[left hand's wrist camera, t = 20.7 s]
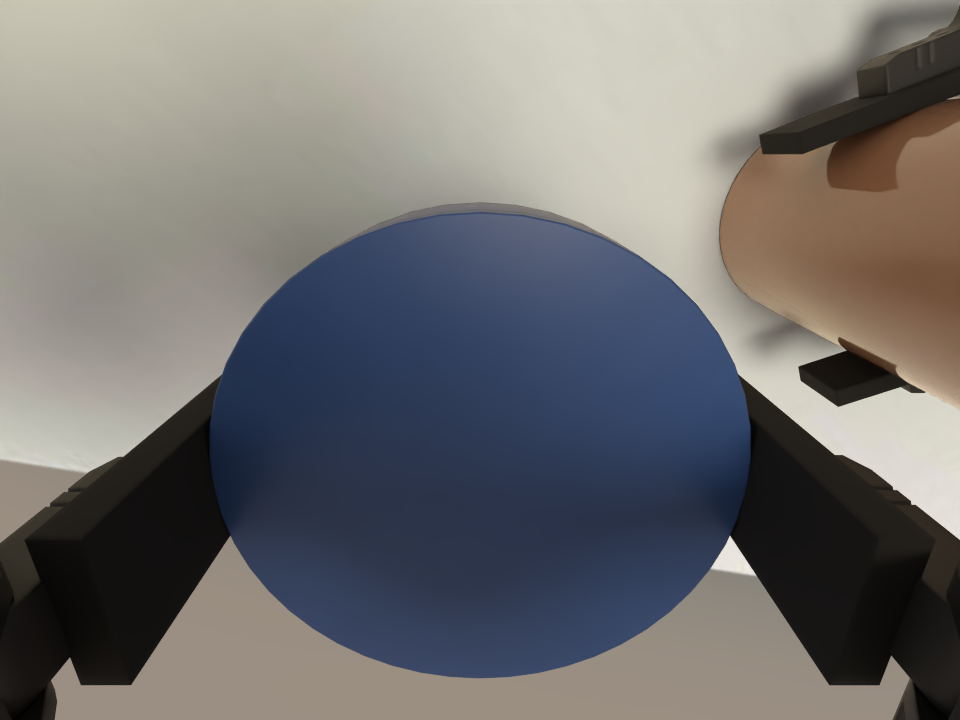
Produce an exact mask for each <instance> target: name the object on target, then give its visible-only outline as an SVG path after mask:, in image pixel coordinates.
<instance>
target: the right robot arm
mask: <svg viewBox="0 0 960 720" xmlns="http://www.w3.org/2000/svg"><path fill="white" fill-rule="evenodd" d="M857 79H858V89H859V96H858V97H856V98H853V99H851V100H848V101H846V102H843V103H840V104H838V105H835V106H833V107H830V108H828V109H825V110H822V111H820V112H817V113H815V114H812V115H809V116H807V117H804V118H802V119H799V120H797V121H794V122H791V123H789V124H786V125H784V126H781V127H779V128H776V129H773V130H771V131H768V132H766V133H763V134H761V135H759V137H760V143H761V149H762V154H804V153H807V152H810V151H812V150H815V149H818V148H820V147H823V146H826V145H828V144H831V143H833V142H836V141H839V140H841V139H844V138H847V137H849V136H852V135H855V134H857V133H860V132H862V131H865V130H868V129H870V128H873V127H876V126H878V125H881V124H883V123H886V122H889V121H891V120H894V119H897V118H899V117H902V116H905V115H907V114H910V113H912V112H915V111H918V110H920V109H923V108H926V107H928V106H931V105H934V104H936V103H939V102H941V101H944V100H947V99H949V98H952V97H955V96H957V95H960V7H959V10H958V12H957V15H956V17H955V18H954V20H953V22H952V23H951V24H950V25H949V26H948V27H947V28H943V29H939V30H937V31H935V32H933V33H932V34H930V35H929V36H928V37H927V38H925V39H923V40H920V41H918V42H915V43H913V44H910V45H907V46H905V47H902V48H900V49H897V50H895V51H892V52H890V53H888V54H885V55H882V56H880V57H877V58H875V59H872V60H870V61H869V62H868V63H866V64H865V65H864V66H863V67H862V68H861V69H859V70H858V71H857ZM798 368H799V373H800V379H801V381H802V382H803V383H805V384H806V385H808V386H809V387H811V388H812V389H814V390H815V391H816V392H818V393H819V394H821V395H822V396H824V397H825V398H826V399H828V400H829V401H831V402H832V403H834V404H835V405H836V406H838V407H839V406H842V405H845V404H849V403H852V402H855V401H858V400H861V399H864V398H868V397H871V396H874V395H877V394H880V393H883V392H886V391H890V390H893V389H896V388H899V387H902V388H903V389H905V390H907V391H909V392H911V393H925V391H923V390H921V389H919V388H917V387H916V386H914V385H912V384H910V383H908V382H906V381H904V380H902V379H900V378H899V377H897V376H895V375H893V374H891V373H889V372H887V371H885V370H883V369H882V368H880V367H878V366H876V365H874V364H872V363H870V362H868V361H866V360H865V359H863V358H861V357H859V356H857V355H855V354H853V353H851V352H849V351H848V350H847V351H844V352H841V353H838V354H835V355H832V356H829V357H826V358H823V359H820V360H817V361H814V362H811V363H808V364H805V365H802V366H799V367H798Z"/></svg>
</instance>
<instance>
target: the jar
mask: <svg viewBox="0 0 960 720" xmlns="http://www.w3.org/2000/svg"><path fill="white" fill-rule="evenodd" d="M720 245H721V252H722V256H723V261H724V263H725V266H726V268H727V271H728V273H729V275H730V276H731V278H732V280H733V281H734V283H735V284H736V285H737V286H738V287H739V289H740V290H741V291H742V292H743V293H745V294H746V295H747V296H748V297H749V298H751V299H752V300H754V301H755V302H757V303H759V304H761V305H763V306H764V307H766V308H768V309H770V310H772V311H774V312H776V313H778V314H780V315H781V316H783V317H785V318H787V319H789V320H791V321H793V322H795V323H797V324H798V325H800V326H802V327H804V328H806V329H808V330H810V331H812V332H814V333H815V334H817V335H819V336H821V337H823V338H825V339H827V340H829V341H831V342H832V343H834V344H836V345H838V346H840V347H842V348H844V349H846V350H848V351H849V352H851V353H853V354H855V355H857V356H859V357H861V358H863V359H865V360H866V361H868V362H870V363H872V364H874V365H876V366H878V367H880V368H882V369H883V370H885V371H887V372H889V373H891V374H893V375H895V376H897V377H899V378H900V379H902V380H904V381H906V382H908V383H910V384H912V385H914V386H916V387H917V388H919V389H921V390H923V391H925V392H927V393H929V394H931V395H933V396H934V397H936V398H938V399H940V400H942V401H944V402H946V403H948V404H950V405H951V406H953V407H955V408H957V409H959V410H960V97H952V98H949V99H947V100H944V101H941V102H939V103H936V104H934V105H931V106H928V107H926V108H923V109H920V110H918V111H915V112H912V113H910V114H907V115H905V116H902V117H899V118H897V119H894V120H891V121H889V122H886V123H883V124H881V125H878V126H876V127H873V128H870V129H868V130H865V131H862V132H860V133H857V134H855V135H852V136H849V137H847V138H844V139H841V140H839V141H836V142H833V143H831V144H828V145H826V146H823V147H820V148H818V149H815V150H812V151H810V152H807V153H804V154H762V149H761V147H760V148H759V149H758V150H757V151H756V152H755V153H754V154H753V155H752V156H751V158H750V159H749V160H748V161H747V162H746V164H745V165H744V167H743V168H742V169H741V171H740V172H739V174H738V176H737V177H736V179H735V181H734V183H733V184H732V187H731V189H730V191H729V193H728V196H727V198H726V202H725V205H724V208H723V212H722V218H721V223H720Z"/></svg>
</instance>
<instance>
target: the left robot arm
mask: <svg viewBox="0 0 960 720" xmlns="http://www.w3.org/2000/svg"><path fill="white" fill-rule="evenodd" d="M738 376H739V375H738ZM221 377H222V375H221V376H220V377H219V378H217V379H216V380H215V381H214V382H213V383H211V384H210V385H209V386H208V387H207V388H205V389H204V390H203V391H202V392H201V393H199V394H198V395H197V396H196V397H195V398H193V399H192V400H191V401H190V402H189V403H187V404H186V405H185V406H184V407H183V408H181V409H180V410H179V411H178V412H177V413H175V414H174V415H173V416H172V417H171V418H169V419H168V420H167V421H166V422H165V423H163V424H162V425H161V426H160V427H159V428H158V429H156V430H155V431H154V432H153V433H152V434H150V435H149V436H148V437H147V438H146V439H144V440H143V441H142V442H141V443H140V444H138V445H137V446H136V447H135V448H134V449H132V450H131V451H130V452H129V453H128V454H126V455H125V456H124V457H117V458H115V459H113V460H111V461H109V462H108V463H106V464H104V465H102V466H100V467H98V468H96V469H94V470H92V471H90V472H89V473H87V474H86V475H85V476H84V477H82V478H81V479H80V480H79V481H77V482H76V483H75V484H74V485H72V486H71V487H70V488H69V489H68V492H64V493H62V494H61V495H60V496H59V497H57V498H56V499H55V500H54V501H52V502H51V503H50V507H45V508H44V509H42V510H41V511H40V512H39V513H37V514H36V515H35V516H34V517H32V518H31V519H30V520H29V521H27V522H26V523H25V524H24V525H22V526H21V527H20V528H19V529H17V530H16V531H15V532H14V533H12V534H11V535H10V536H9V537H7V538H6V539H5V540H4V541H2V542H1V543H0V720H54V719H55V712H56V705H57V699H56V693H55V689H54V687H53V684H52V682H51V679H52V678H53V677H54V676H55V675H56V673H57V672H58V671H59V670H60V669H61V667H62V666H63V665H64V664H65V663H66V661H67V660H68V659H69V658H71V661H72V663H73V666H74V668H75V671H76V673H77V676H78V679H79V681H80V684H81V685H131V684H132V683H133V681H134V680H135V678H136V677H137V675H138V674H139V672H140V671H141V669H142V668H143V666H144V665H145V663H146V662H147V660H148V659H149V657H150V656H151V654H152V653H153V651H154V650H155V648H156V647H157V645H158V644H159V642H160V641H161V639H162V638H163V636H164V635H165V633H166V632H167V630H168V628H169V627H170V626H171V624H172V623H173V621H174V619H175V618H176V616H177V615H178V613H179V612H180V610H181V609H182V607H183V606H184V604H185V603H186V601H187V600H188V598H189V597H190V595H191V594H192V592H193V591H194V589H195V588H196V586H197V585H198V583H199V582H200V580H201V579H202V577H203V576H204V574H205V573H206V571H207V570H208V568H209V567H210V565H211V564H212V562H213V561H214V559H215V558H216V556H217V555H218V553H219V552H220V550H221V549H222V547H223V545H224V544H225V543H226V541H227V540H228V538H229V537H230V533H229V531H228V529H227V526H226V524H225V522H224V520H223V518H222V515H221V511H220V508H219V505H218V501H217V497H216V493H215V488H214V483H213V478H212V473H211V466H210V458H209V449H210V423H211V417H212V411H213V405H214V400H215V394H216V391H217V388H218V385H219V382H220V379H221ZM739 379H740V382H741V385H742V388H743V391H744V394H745V398H746V403H747V409H748V415H749V421H750V427H751V462H750V469H749V476H748V482H747V487H746V491H745V495H744V499H743V503H742V506H741V509H740V513H739V516H738V519H737V521H736V523H735V525H734V527H733V530H732V532H731V534H730V536H731V538H732V539H733V541H734V542H735V544H736V545H737V547H738V548H739V550H740V551H741V553H742V554H743V556H744V557H745V559H746V560H747V562H748V563H749V565H750V566H751V568H752V569H753V571H754V572H755V574H756V575H757V577H758V578H759V580H760V581H761V583H762V584H763V586H764V587H765V589H766V590H767V592H768V593H769V595H770V596H771V598H772V599H773V601H774V602H775V604H776V605H777V607H778V608H779V610H780V611H781V613H782V614H783V616H784V617H785V619H786V620H787V622H788V623H789V625H790V626H791V628H792V630H793V631H794V632H795V634H796V636H797V637H798V638H799V640H800V642H801V643H802V645H803V646H804V648H805V649H806V651H807V652H808V654H809V655H810V656H811V658H812V660H813V661H814V663H815V664H816V666H817V667H818V669H819V670H820V672H821V673H822V675H823V676H824V678H825V679H826V681H827V682H828V684H829V685H880V682H881V680H882V677H883V675H884V672H885V669H886V667H887V664H888V662H889V659H890V657H891V655H892V657H893V658H894V659H895V660H896V661H897V663H898V664H899V665H900V666H901V668H902V669H903V670H904V671H905V672H906V673H907V675H908V676H909V677H910V680H909V682H908V684H907V687H906V689H905V692H904V694H903V696H902V699H901V701H900V704H899V706H898V708H897V711H896V713H895V716H894V718H893V720H960V540H959V539H958V538H957V537H955V536H954V535H953V534H952V533H950V532H949V531H948V530H946V529H945V528H944V527H943V526H941V525H940V524H939V523H938V522H936V521H935V520H934V519H933V518H931V517H930V516H929V515H928V514H926V513H925V512H924V511H923V510H921V509H920V508H919V507H918V506H916V505H911V501H910V500H909V499H907V498H906V497H905V496H904V495H902V494H901V493H900V492H899V491H897V490H893V487H892V486H891V485H890V484H889V483H887V482H886V481H885V480H884V479H882V478H881V477H880V476H879V475H877V474H876V473H875V472H873V471H872V470H871V469H869V468H867V467H865V466H863V465H861V464H859V463H857V462H855V461H853V460H851V459H849V458H847V457H845V456H843V455H834V454H833V453H832V452H830V451H829V450H828V449H827V448H826V447H824V446H823V445H822V444H821V443H820V442H818V441H817V440H816V439H815V438H814V437H812V436H811V435H810V434H809V433H808V432H806V431H805V430H804V429H803V428H802V427H800V426H799V425H798V424H797V423H796V422H794V421H793V420H792V419H791V418H790V417H789V416H787V415H786V414H785V413H784V412H783V411H781V410H780V409H779V408H778V407H777V406H775V405H774V404H773V403H772V402H771V401H769V400H768V399H767V398H766V397H765V396H763V395H762V394H761V393H760V392H759V391H757V390H756V389H755V388H754V387H753V386H751V385H750V384H749V383H748V382H747V381H745V380H744V379H743V378H742V377H741V376H739Z"/></svg>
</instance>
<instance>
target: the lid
mask: <svg viewBox="0 0 960 720" xmlns="http://www.w3.org/2000/svg"><path fill="white" fill-rule="evenodd" d="M209 458H210V466H211V473H212V478H213V483H214V488H215V493H216V497H217V501H218V505H219V508H220V511H221V515H222V518H223V520H224V522H225V524H226V526H227V529H228V531H229V533H230V535H231V537H232V539H233V542H234V544H235V545H236V547H237V548H238V550H239V552H240V553H241V555H242V557H243V558H244V560H245V561H246V563H247V564H248V566H249V568H250V569H251V570H252V571H253V573H254V574H255V575H256V576H257V577H258V579H259V580H260V581H261V582H262V584H263V585H264V586H265V587H266V588H267V590H268V591H269V592H270V593H271V594H272V595H273V596H274V597H275V598H277V599H278V600H279V601H280V602H281V603H282V604H283V605H284V606H285V607H286V608H287V609H288V610H289V611H290V612H292V613H293V614H294V615H296V616H297V617H298V618H300V619H301V620H302V621H304V622H305V623H306V624H307V625H309V626H310V627H312V628H313V629H314V630H316V631H318V632H320V633H321V634H323V635H324V636H326V637H328V638H329V639H331V640H333V641H334V642H336V643H338V644H340V645H342V646H344V647H346V648H348V649H351V650H353V651H355V652H357V653H359V654H361V655H364V656H366V657H369V658H372V659H375V660H378V661H381V662H383V663H386V664H389V665H392V666H396V667H400V668H404V669H408V670H412V671H416V672H421V673H427V674H434V675H441V676H448V677H464V678H496V677H512V676H519V675H527V674H534V673H540V672H544V671H548V670H552V669H557V668H561V667H565V666H569V665H571V664H574V663H577V662H580V661H583V660H586V659H589V658H592V657H595V656H597V655H599V654H601V653H603V652H606V651H608V650H610V649H612V648H614V647H617V646H619V645H621V644H623V643H624V642H626V641H628V640H629V639H631V638H633V637H634V636H636V635H638V634H640V633H641V632H643V631H645V630H646V629H648V628H649V627H650V626H652V625H653V624H654V623H656V622H657V621H658V620H660V619H661V618H662V617H664V616H665V615H666V614H668V613H669V612H670V611H671V610H672V609H673V608H675V607H676V606H677V605H678V604H679V603H680V602H681V601H682V600H683V599H684V598H685V597H686V596H687V595H688V594H689V593H690V592H691V591H692V590H693V589H694V588H695V587H696V585H697V584H698V583H699V582H700V581H701V579H702V578H703V577H704V576H705V574H706V573H707V572H708V571H709V570H710V568H711V567H712V565H713V564H714V562H715V560H716V559H717V557H718V556H719V554H720V553H721V551H722V549H723V548H724V546H725V545H726V543H727V540H728V538H729V536H730V534H731V532H732V530H733V527H734V525H735V523H736V521H737V519H738V516H739V513H740V509H741V506H742V503H743V499H744V495H745V491H746V487H747V482H748V476H749V469H750V462H751V427H750V421H749V415H748V409H747V403H746V398H745V394H744V391H743V388H742V385H741V382H740V379H739V376H738V373H737V370H736V367H735V364H734V362H733V360H732V358H731V356H730V355H729V353H728V351H727V349H726V347H725V345H724V343H723V341H722V339H721V337H720V335H719V334H718V332H717V331H716V330H715V328H714V327H713V326H712V324H711V323H710V322H709V320H708V319H707V318H706V316H705V315H704V313H703V312H702V311H701V309H700V308H699V307H698V305H697V304H696V303H695V302H694V301H693V300H692V299H691V298H690V297H689V296H688V295H687V294H686V293H684V292H683V291H682V290H681V289H680V288H679V287H678V286H677V285H676V284H675V283H674V282H673V281H672V280H671V279H670V278H669V277H667V276H666V275H665V274H663V273H662V272H661V271H659V270H658V269H656V268H655V267H654V266H652V265H651V264H650V263H648V262H647V261H646V260H644V259H643V258H641V257H640V256H639V255H637V254H635V253H633V252H632V251H630V250H629V249H627V248H625V247H624V246H622V245H620V244H619V243H617V242H616V241H614V240H612V239H610V238H608V237H607V236H605V235H603V234H601V233H599V232H597V231H595V230H593V229H591V228H590V227H588V226H586V225H584V224H582V223H579V222H576V221H573V220H571V219H568V218H565V217H562V216H559V215H557V214H554V213H551V212H547V211H542V210H537V209H533V208H528V207H523V206H518V205H509V204H495V203H465V204H450V205H442V206H437V207H432V208H428V209H423V210H418V211H413V212H409V213H407V214H404V215H401V216H398V217H395V218H392V219H390V220H387V221H384V222H381V223H378V224H377V225H375V226H373V227H371V228H369V229H367V230H365V231H363V232H361V233H359V234H357V235H355V236H354V237H352V238H350V239H348V240H346V241H345V242H343V243H341V244H340V245H338V246H336V247H335V248H333V249H331V250H330V251H328V252H326V253H325V254H323V255H322V256H320V257H319V258H317V259H316V260H315V261H313V262H312V263H311V264H309V265H308V266H306V267H305V268H304V269H302V270H301V271H299V272H298V273H297V274H295V275H294V276H292V277H291V278H290V279H289V280H288V281H287V282H286V283H285V284H284V285H283V286H282V287H281V288H280V289H279V290H278V291H277V292H276V293H275V294H274V295H273V296H272V297H270V298H269V299H268V300H267V301H266V302H265V303H264V304H263V306H262V307H261V308H260V310H259V311H258V312H257V314H256V315H255V316H254V318H253V319H252V320H251V322H250V323H249V324H248V326H247V327H246V328H245V330H244V331H243V332H242V334H241V336H240V338H239V340H238V342H237V344H236V345H235V347H234V349H233V351H232V353H231V355H230V357H229V359H228V360H227V362H226V365H225V368H224V371H223V374H222V377H221V379H220V382H219V385H218V388H217V391H216V394H215V400H214V405H213V411H212V417H211V423H210V449H209Z"/></svg>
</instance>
